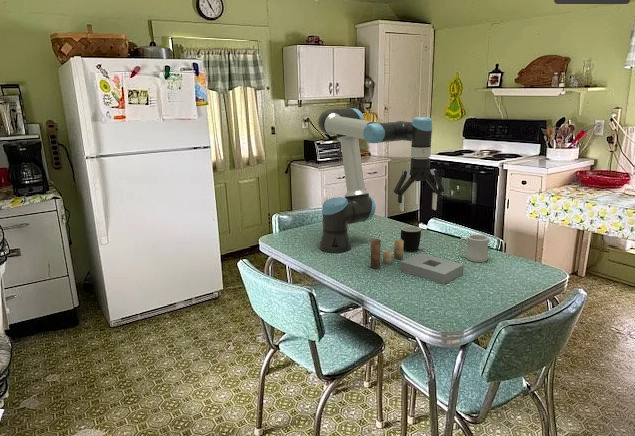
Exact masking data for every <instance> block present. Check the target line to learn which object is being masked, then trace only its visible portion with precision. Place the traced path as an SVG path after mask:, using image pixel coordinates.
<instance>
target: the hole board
mask: <svg viewBox="0 0 635 436" xmlns="http://www.w3.org/2000/svg"><path fill="white" fill-rule="evenodd" d="M464 268H465V267H464V264H462V263H459V262H454V261H451V260H448V259H443V258H440V257H436V256H433V255H429V254H425V253H422V252H420V253H418V254H415V255H414V256H411V257H409V258H406V259H404V260H402V261H401V262H400V272H404V273H405V274H409V275H413V276H416V277H419V278H422V279H426V280H428V281H431V282H432V281H433V282H435V283H438V284H442V285H445V284H448V283H449V282H451V281H453V280H455V279H457V278H458V277H461V276H463V275H464Z"/></svg>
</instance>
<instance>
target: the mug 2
mask: <svg viewBox="0 0 635 436" xmlns="http://www.w3.org/2000/svg"><path fill="white" fill-rule="evenodd" d="M466 237H467V238H466ZM466 237H461V238H460V239H459V240H458V241H459V244H460V245H461V246H459V247H458V251H459V253H460V254H462V255H464V254H465V258H466V259H467V260H468V261H470V262H475V263H485V262H487V261H488V260H489V243H490V237H489V236H488V235H485V234H480V233H479V234H477V233H475V234H474V233H473V234H469V235H467V236H466ZM463 240H464V241H465V242H467V246H466V247H467V248H466V250H464V251H463V250H462V249H463V248H464V247H465V245H464V243H463V242H462V241H463Z"/></svg>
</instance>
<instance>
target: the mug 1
mask: <svg viewBox="0 0 635 436" xmlns="http://www.w3.org/2000/svg"><path fill="white" fill-rule="evenodd" d="M421 237H422V228H420V226H419V227H418V226H413V225H412V226H411V225H408V226H407V225H406V226H403V227H401V228H400V239H401V240H404V247H403V252H404V251H405V252H409V253H414V252H415V253H416V252H417V251H418V250H419V248H420V245H421Z"/></svg>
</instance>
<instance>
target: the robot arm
mask: <svg viewBox="0 0 635 436" xmlns="http://www.w3.org/2000/svg"><path fill="white" fill-rule="evenodd" d="M317 125H318V128H319V130H320V131H321V132H322V133H323V134H325V135H330V136H336V140H337V141H339V142H340V147H341V155H342V162H343V163H342V164H343V168H344V169H343V170H344V178H345V187H346V193H345V195H344V196H337V197H331V198H328V199H326V200H325V201H324V202H323V203H322V208H321V209H322V210H321V212H322V235H321V238H320V241H319V250H321V251H323V252H326V253H331V254H333V253H335V254H337V253H338V254H339V253H344V252H349V251H350V250H351V249H352V241H351V238H350V236H349V232H348V230H349V228H348V227H349V225H352V224H356V223H363V222H365V221H369V220H371V219H372V218H373V217H374V215H375V214H376V213H375V212H376V202H375V200H374V198H373V196H370V193H369V192H368V191H367V190H366V188H365V187H366V185H365V179H364V172H363V170H364V169H363V163H362V156H361V149H360V141H359V139H361V140H365V142H367V143H369V144H378V143H379V144H380V143H388V142H390V143H391V142H399V141H404V142H405V141H407V142H411V144H410V145H411V149H410V156H411V157H410V169H409V170H406V169H403V170H402V172H401V176H400V178H399V180H398V182H397V183H396V186H395V187H394V189H393V193H394V194H395V195H397V203H399V210H400V211H401V212H403V213H404V211H405V195H404V194H405V192H406V191H407V190H408V189H409V187H410V186H412V184H414V182H426V183H427V184H428V185H429V186H430V188H431V190H432V191H434V192H432V200H431V204H432V205H431V209H432V210H434V211H437V204H438V203H437V202H439V201H440V195H441V193H444V192H445V188H444V187H443V183H442V182H441V179H440V177H439V173H438V170H437V168H436V169H435V168H432V169H430V167H431V153H432V152H431V151H432V135H433V119H432V118H431V117H426V116H419V117H418V116H417V117H413V118H412V121H404V120H394V121H392V122H391V121H389V122H377V121H372V120H371V121H370V120H365V117H364V115H363V113H362V111H360V110H359V109H358V108H351V107H348V108H347V107H345V108H330V109H326V110H324V111H322V113H320V115H319V117H318V120H317ZM430 175H432V177H433V179H434V181H435V183H436V185H435V184H434V183H433V181H432V180H431V178H430V177H429V176H430ZM408 176H410V177H409V178H408V180H407V181H406V182H405V180H406V179H407V177H408Z"/></svg>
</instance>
